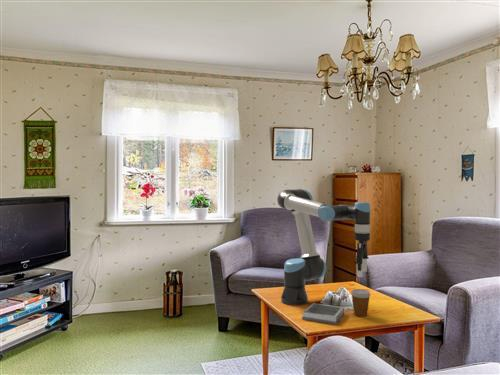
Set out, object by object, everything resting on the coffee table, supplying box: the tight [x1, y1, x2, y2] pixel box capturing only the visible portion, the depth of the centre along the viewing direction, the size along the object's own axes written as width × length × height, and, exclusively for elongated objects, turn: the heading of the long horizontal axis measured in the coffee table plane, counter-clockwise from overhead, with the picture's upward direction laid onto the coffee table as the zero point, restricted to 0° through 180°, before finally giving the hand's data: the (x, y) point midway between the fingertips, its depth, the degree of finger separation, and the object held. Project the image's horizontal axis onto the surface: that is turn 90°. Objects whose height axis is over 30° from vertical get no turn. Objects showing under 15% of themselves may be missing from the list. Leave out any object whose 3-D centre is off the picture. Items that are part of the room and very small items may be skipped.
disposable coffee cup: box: [350, 288, 371, 318], centre depth 205 cm, size 10×10×12 cm
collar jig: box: [301, 302, 345, 326], centre depth 202 cm, size 17×17×4 cm
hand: (361, 274), depth 205 cm, fingers open, 13 cm apart
